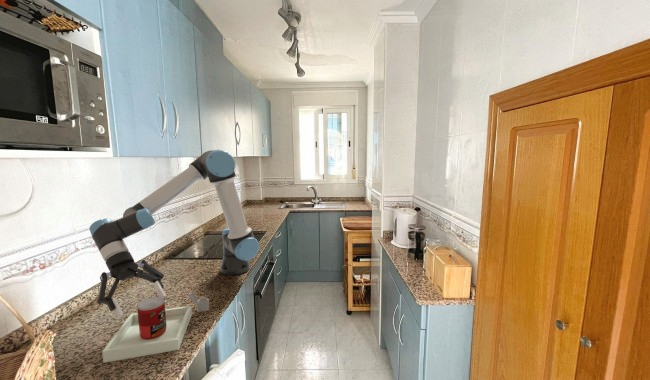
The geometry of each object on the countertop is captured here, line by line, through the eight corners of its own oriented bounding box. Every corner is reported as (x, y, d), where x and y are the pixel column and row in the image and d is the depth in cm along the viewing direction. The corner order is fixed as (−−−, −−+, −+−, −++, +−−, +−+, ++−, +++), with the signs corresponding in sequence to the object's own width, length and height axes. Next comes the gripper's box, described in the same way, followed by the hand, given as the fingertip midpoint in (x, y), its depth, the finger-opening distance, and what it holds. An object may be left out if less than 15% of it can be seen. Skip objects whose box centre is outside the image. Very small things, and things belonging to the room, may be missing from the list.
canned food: (154, 341, 86) (151, 309, 85) (133, 338, 88) (130, 307, 87) (172, 327, 94) (170, 297, 93) (152, 324, 95) (150, 295, 94)
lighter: (209, 308, 107) (208, 289, 107) (208, 310, 106) (207, 291, 105) (190, 310, 106) (188, 291, 105) (189, 313, 104) (187, 293, 103)
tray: (191, 314, 103) (191, 305, 103) (178, 349, 84) (178, 339, 84) (131, 322, 98) (131, 313, 97) (103, 362, 79) (102, 351, 78)
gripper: (150, 251, 109) (174, 295, 104) (70, 275, 88) (96, 332, 82) (156, 241, 106) (182, 285, 101) (75, 262, 85) (103, 321, 79)
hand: (143, 306), depth 92 cm, fingers open, 13 cm apart
